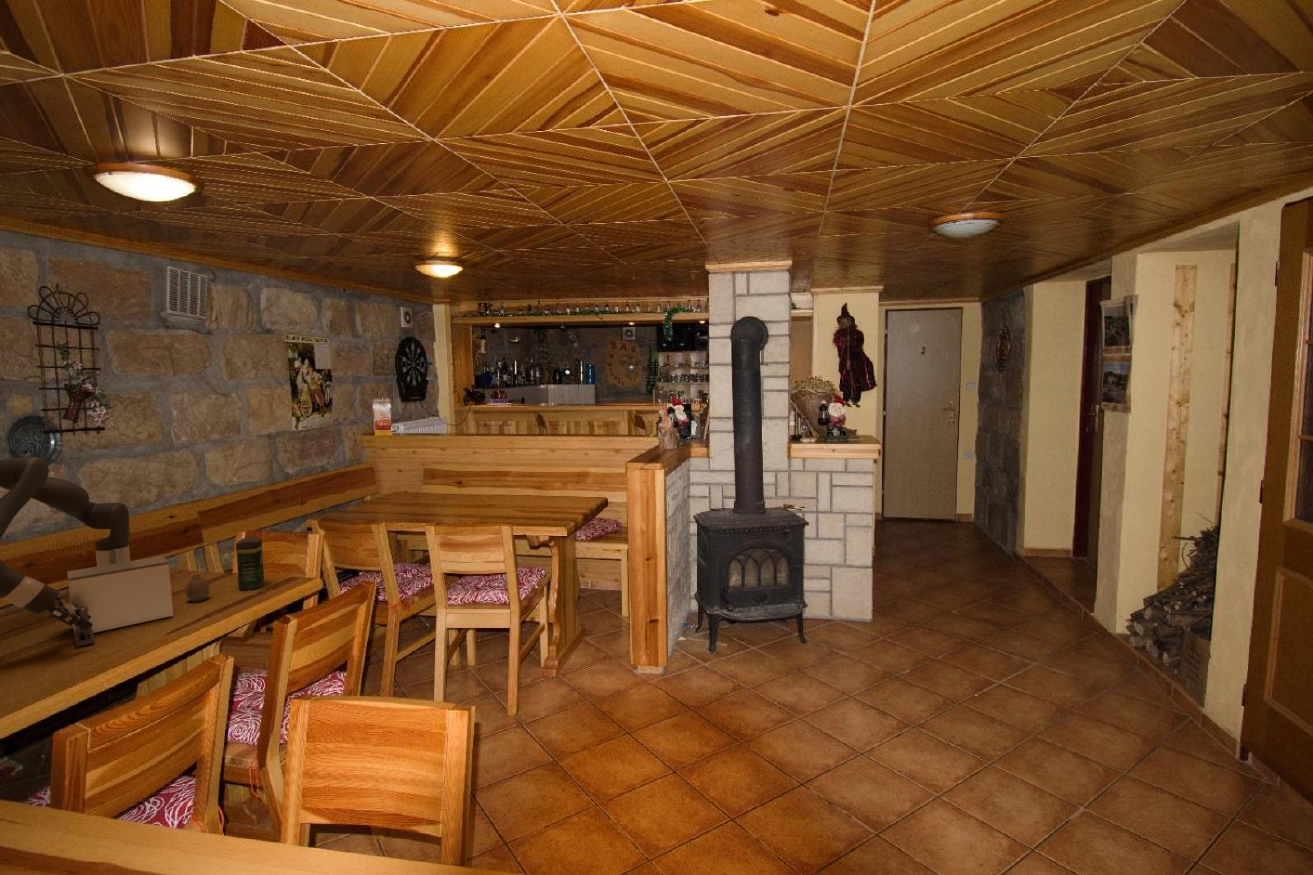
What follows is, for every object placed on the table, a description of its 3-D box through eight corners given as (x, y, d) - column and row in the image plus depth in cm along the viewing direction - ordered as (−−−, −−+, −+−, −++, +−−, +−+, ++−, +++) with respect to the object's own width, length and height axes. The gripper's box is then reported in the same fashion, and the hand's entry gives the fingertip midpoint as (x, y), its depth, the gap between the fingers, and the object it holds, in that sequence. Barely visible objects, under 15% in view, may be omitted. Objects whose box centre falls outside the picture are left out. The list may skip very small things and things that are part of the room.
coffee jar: (261, 589, 240) (258, 539, 238) (236, 592, 237) (232, 541, 235) (267, 581, 249) (263, 533, 247) (242, 584, 246) (239, 535, 245)
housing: (73, 627, 205) (67, 571, 203) (167, 607, 222) (163, 555, 220) (74, 636, 198) (68, 578, 196) (172, 615, 215) (167, 561, 213)
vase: (192, 604, 225) (190, 579, 224) (182, 601, 228) (180, 576, 227) (214, 598, 231) (212, 574, 230) (204, 595, 234) (202, 571, 233)
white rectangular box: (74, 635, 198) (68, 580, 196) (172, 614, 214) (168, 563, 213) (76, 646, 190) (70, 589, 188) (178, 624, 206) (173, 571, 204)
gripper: (43, 589, 180) (102, 618, 189) (42, 578, 190) (98, 606, 199) (19, 613, 177) (79, 642, 186) (19, 600, 187) (77, 628, 196)
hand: (89, 623), depth 192 cm, fingers open, 8 cm apart
